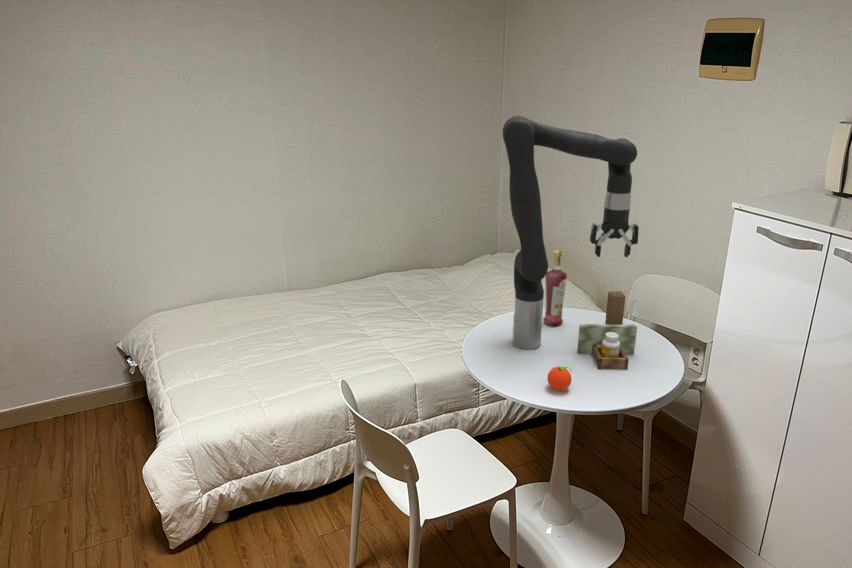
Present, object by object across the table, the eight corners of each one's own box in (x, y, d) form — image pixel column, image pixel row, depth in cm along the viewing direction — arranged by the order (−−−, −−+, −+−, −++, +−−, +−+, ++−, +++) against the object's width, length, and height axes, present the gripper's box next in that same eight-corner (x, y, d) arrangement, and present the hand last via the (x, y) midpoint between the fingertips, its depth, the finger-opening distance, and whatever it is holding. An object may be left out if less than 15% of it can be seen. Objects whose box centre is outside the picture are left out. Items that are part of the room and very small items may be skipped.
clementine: (563, 379, 187) (564, 358, 184) (578, 390, 181) (580, 368, 178) (541, 386, 183) (543, 365, 181) (556, 397, 177) (558, 375, 175)
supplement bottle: (597, 358, 199) (600, 331, 195) (614, 357, 199) (617, 330, 196) (603, 366, 194) (606, 338, 190) (620, 365, 194) (623, 338, 191)
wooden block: (629, 339, 212) (634, 290, 205) (633, 345, 208) (639, 295, 201) (603, 340, 211) (608, 291, 205) (607, 345, 207) (612, 296, 201)
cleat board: (583, 368, 193) (586, 339, 189) (577, 351, 204) (579, 324, 200) (642, 369, 192) (645, 340, 188) (632, 352, 203) (636, 324, 199)
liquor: (554, 329, 220) (559, 254, 210) (538, 322, 225) (542, 249, 215) (567, 323, 224) (573, 250, 214) (551, 317, 229) (556, 245, 219)
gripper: (596, 209, 186) (591, 260, 192) (644, 209, 185) (638, 260, 191) (591, 203, 193) (587, 252, 199) (637, 203, 192) (632, 252, 198)
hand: (612, 256), depth 195 cm, fingers open, 8 cm apart
